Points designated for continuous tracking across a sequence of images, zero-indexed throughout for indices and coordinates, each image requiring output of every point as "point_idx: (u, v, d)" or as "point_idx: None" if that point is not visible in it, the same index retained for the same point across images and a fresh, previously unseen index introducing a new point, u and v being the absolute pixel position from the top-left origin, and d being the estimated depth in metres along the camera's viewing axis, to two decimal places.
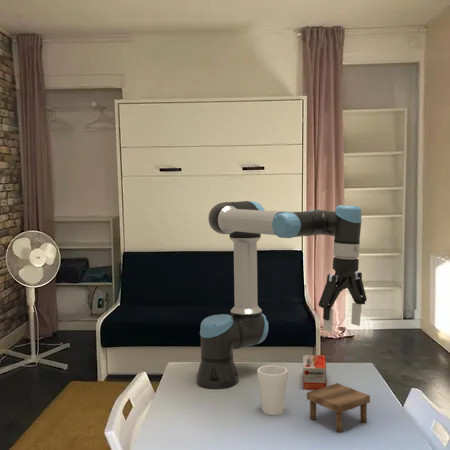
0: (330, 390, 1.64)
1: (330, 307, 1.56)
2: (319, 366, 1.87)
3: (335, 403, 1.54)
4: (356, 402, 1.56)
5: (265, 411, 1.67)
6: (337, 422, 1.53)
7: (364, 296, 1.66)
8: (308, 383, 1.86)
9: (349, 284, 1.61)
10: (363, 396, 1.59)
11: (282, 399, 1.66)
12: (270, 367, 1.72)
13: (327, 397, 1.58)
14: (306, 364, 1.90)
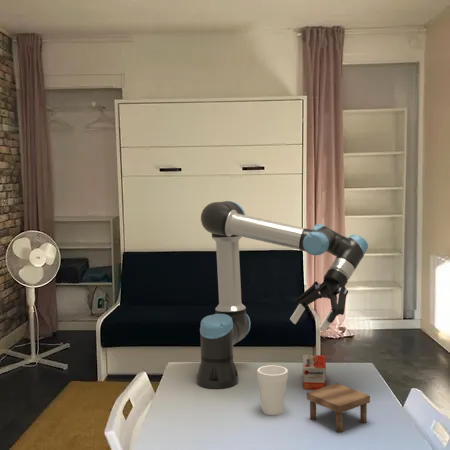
0: (330, 390, 1.64)
1: None
2: (318, 366, 1.87)
3: (335, 403, 1.54)
4: (356, 402, 1.56)
5: (265, 411, 1.67)
6: (337, 422, 1.53)
7: None
8: (308, 383, 1.86)
9: None
10: (363, 396, 1.59)
11: (282, 399, 1.66)
12: (270, 367, 1.72)
13: (327, 397, 1.58)
14: (306, 363, 1.90)
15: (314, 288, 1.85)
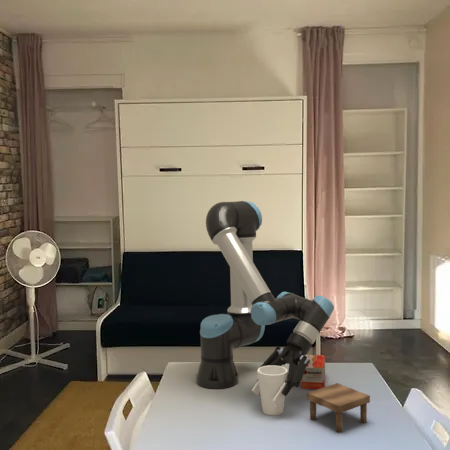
0: (330, 390, 1.64)
1: None
2: (317, 365, 1.87)
3: (335, 403, 1.54)
4: (356, 402, 1.56)
5: (265, 411, 1.67)
6: (337, 422, 1.53)
7: None
8: (306, 382, 1.86)
9: None
10: (363, 396, 1.59)
11: None
12: (270, 367, 1.72)
13: (327, 397, 1.58)
14: None
15: (277, 353, 1.76)
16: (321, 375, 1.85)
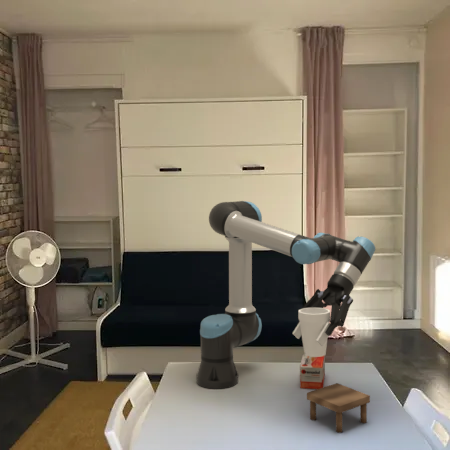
0: (330, 390, 1.64)
1: None
2: (316, 365, 1.87)
3: (335, 403, 1.54)
4: (356, 402, 1.56)
5: (307, 353, 1.60)
6: (337, 422, 1.53)
7: None
8: (305, 382, 1.87)
9: None
10: (363, 396, 1.59)
11: None
12: (311, 309, 1.65)
13: (327, 397, 1.58)
14: (303, 363, 1.91)
15: (317, 296, 1.69)
16: (320, 375, 1.85)
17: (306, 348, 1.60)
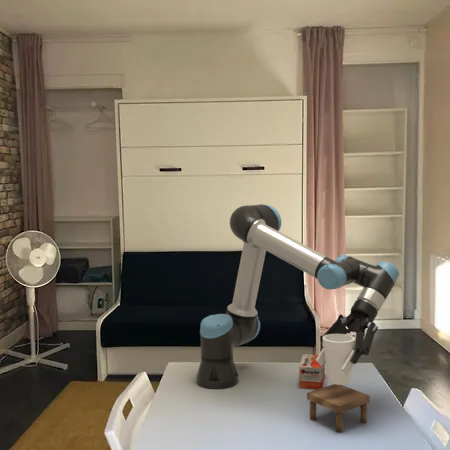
0: (330, 390, 1.64)
1: None
2: (315, 365, 1.88)
3: (335, 403, 1.54)
4: (356, 402, 1.56)
5: (331, 381, 1.58)
6: (337, 422, 1.53)
7: None
8: (304, 382, 1.87)
9: None
10: (363, 396, 1.59)
11: None
12: (334, 335, 1.63)
13: (327, 397, 1.58)
14: (303, 363, 1.91)
15: (340, 322, 1.68)
16: (319, 375, 1.86)
17: (330, 376, 1.58)
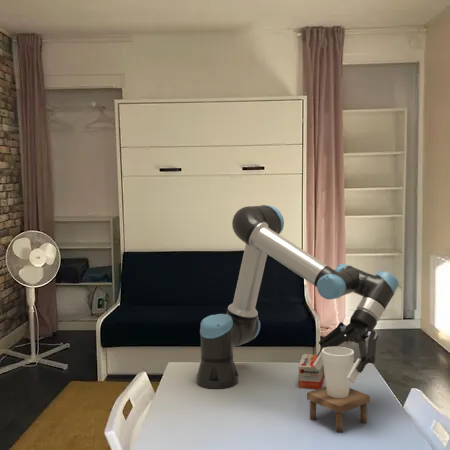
0: None
1: None
2: None
3: (335, 403, 1.54)
4: (356, 402, 1.56)
5: (330, 394, 1.59)
6: (337, 422, 1.53)
7: None
8: (304, 381, 1.87)
9: None
10: (363, 396, 1.59)
11: (348, 381, 1.58)
12: (334, 348, 1.64)
13: (327, 397, 1.58)
14: (302, 362, 1.91)
15: (339, 330, 1.68)
16: (318, 374, 1.86)
17: (329, 388, 1.59)
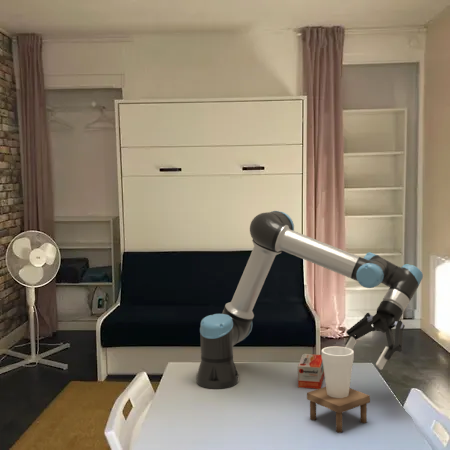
0: None
1: None
2: (314, 365, 1.88)
3: (335, 403, 1.54)
4: (356, 402, 1.56)
5: (330, 394, 1.59)
6: (337, 422, 1.53)
7: None
8: (303, 381, 1.87)
9: None
10: (363, 396, 1.59)
11: (348, 381, 1.58)
12: (333, 348, 1.64)
13: (327, 397, 1.58)
14: (302, 362, 1.91)
15: (366, 320, 1.76)
16: (317, 374, 1.86)
17: (329, 389, 1.59)
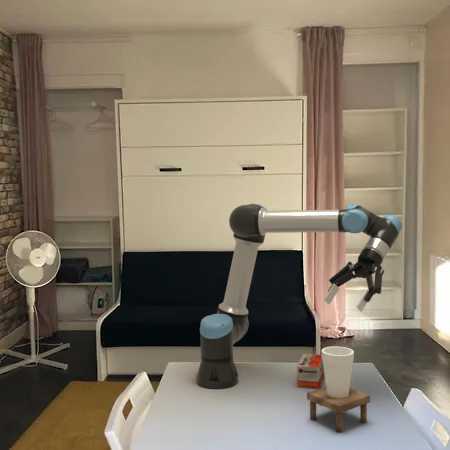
0: None
1: None
2: (313, 365, 1.88)
3: (335, 403, 1.54)
4: (356, 402, 1.56)
5: (330, 394, 1.59)
6: (337, 422, 1.53)
7: None
8: (302, 381, 1.88)
9: None
10: (363, 396, 1.59)
11: (348, 381, 1.58)
12: (333, 348, 1.64)
13: (327, 397, 1.58)
14: (301, 362, 1.91)
15: (348, 268, 1.83)
16: (316, 374, 1.86)
17: (329, 389, 1.59)
